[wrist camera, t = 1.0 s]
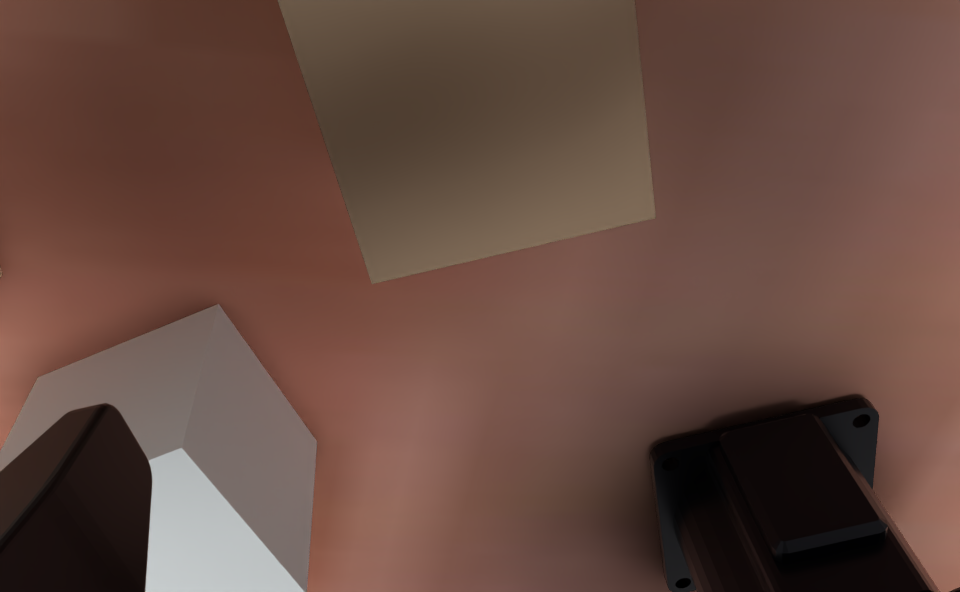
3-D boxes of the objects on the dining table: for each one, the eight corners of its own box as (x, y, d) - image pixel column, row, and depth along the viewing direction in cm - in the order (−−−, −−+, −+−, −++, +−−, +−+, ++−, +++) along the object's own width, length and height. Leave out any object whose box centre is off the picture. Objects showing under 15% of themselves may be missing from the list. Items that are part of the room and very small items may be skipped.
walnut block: (591, 109, 19) (655, 218, 15) (370, 162, 19) (372, 284, 15) (558, -139, 16) (625, -92, 12) (298, -75, 16) (275, -8, 12)
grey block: (317, 439, 23) (307, 594, 19) (155, 500, 24) (110, 664, 20) (218, 301, 20) (181, 447, 16) (38, 375, 21) (-42, 534, 17)
